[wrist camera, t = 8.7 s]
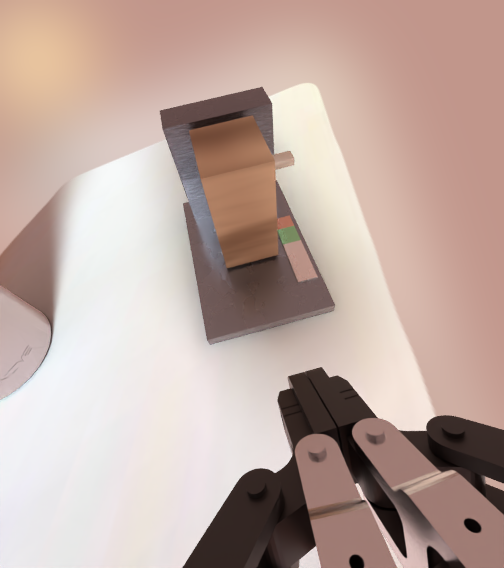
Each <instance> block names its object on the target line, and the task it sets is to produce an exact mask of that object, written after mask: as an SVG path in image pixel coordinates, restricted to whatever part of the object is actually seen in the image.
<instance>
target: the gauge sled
mask: <svg viewBox="0 0 504 568" xmlns="http://www.w3.org/2000/svg"><path fill="white" fill-rule="evenodd" d="M189 133H190V137H191V141H192V145H193V149H194V154H195V158H196V162H197V166H198V170H199V174H200V178H201V182H202V185H203V189H204V192H205V196H206V199H207V202H208V206H209V209H210V213H211V216H212V219H213V223H214V226H215V230H216V233H217V236H218V240H219V243H220V247H221V250H222V253H223V257H224V260H225V264H226V267H227V268H230V267H234V266H238V265H241V264H245V263H249V262H253V261H257V260H261V259H264V258H268V257H272V256H276V255H278V231H277V204H276V177H275V170H276V169H280V168H284V167H288V166H292V165H294V157H293V155H292V153H291V152H290V151H287V152H283V153H279V154H275V155H272V154H271V152H270V150H269V148H268V146H267V144H266V142H265V140H264V138H263V136H262V133H261V131H260V129H259V127H258V125H257V123H256V121H255V119H254V117H253V115H252V116H248V117H243V118H239V119H235V120H231V121H227V122H222V123H218V124H214V125H210V126H205V127H201V128H197V129H193V130H189Z"/></svg>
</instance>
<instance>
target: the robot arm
mask: <svg viewBox="0 0 504 568" xmlns="http://www.w3.org/2000/svg"><path fill="white" fill-rule="evenodd" d="M50 339H51V327H50V324H49V321H48V319H47V317H46V316H45V315H44V314H43V313H42V312H40V311H39V310H37V309H36V308H34V307H33V306H31V305H30V304H28V303H27V302H25V301H24V300H22V299H21V298H19V297H18V296H16V295H15V294H13V293H12V292H10V291H9V290H7V289H6V288H4V287H3V286H1V285H0V400H1V399H3V398H5V397H7V396H8V395H10V394H11V393H13V392H14V391H15V390H17V389H18V388H20V387H21V386H22V385H23V384H24V383H25V382H26V381H27V380H28V379H29V378H30V377H31V376H32V375H33V373H34V372H35V371H36V370H37V368H38V367H39V366H40V364H41V362H42V361H43V359H44V357H45V355H46V353H47V350H48V348H49V344H50ZM288 381H289V386H290V389H287V390H284V391H280V393H279V396H278V405H279V409H280V413H281V417H282V421H283V425H284V429H285V433H286V436H287V439H288V442H289V445H290V448H291V451H292V458H291V460H290V461H289V463H288V464H287V465H286V466H285V467H284V468H282V469H281V470H280V471H278V472H277V473H274V472H272V471H270V470H268V469H262V468H260V469H254V470H251V471H249V472H247V473H246V474H244V475H243V476H242V477H241V478H240V479H239V481H238V482H237V483H236V485H235V487H234V488H233V490H232V491H231V493H230V494H229V496H228V497H227V499H226V501H225V502H224V504H223V505H222V507H221V508H220V510H219V512H218V513H217V515H216V516H215V518H214V519H213V521H212V522H211V524H210V526H209V527H208V529H207V530H206V532H205V533H204V535H203V537H202V538H201V540H200V541H199V543H198V544H197V546H196V547H195V549H194V551H193V552H192V554H191V555H190V557H189V558H188V560H187V561H186V563H185V565H184V566H183V568H299V559H300V558H302V557H303V556H304V555H305V554H307V553H308V552H309V551H310V550H311V549H313V548H314V547H315V546H316V547H317V551H318V555H319V559H320V564H321V568H397V567H396V564H395V562H394V560H393V558H392V556H391V553H390V551H389V549H388V547H387V544H386V542H385V540H384V538H383V535H384V537H385V538H386V540H387V542H388V543H389V545H390V547H391V548H392V550H393V551H394V553H395V555H396V556H397V558H398V560H399V561H400V563H401V565H402V566H403V568H504V491H502V490H500V489H498V488H495V487H493V486H490V485H487V484H485V476H486V477H488V478H491V479H493V480H496V481H499V482H502V483H504V430H502V429H498V428H495V427H491V426H488V425H484V424H480V423H477V422H473V421H470V420H466V419H463V418H459V417H454V416H446V415H445V416H437V417H434V418H432V419H431V420H430V421H429V422H428V423H427V426H426V429H427V431H400V430H398V429H397V428H396V427H395V426H394V425H392V424H391V423H389V422H388V421H386V420H383V419H379V418H377V417H376V415H375V414H374V413H373V412H372V410H371V409H370V408H369V407H368V406H367V404H366V403H365V402H364V401H363V399H362V398H361V397H360V396H359V395H358V393H357V392H356V391H355V390H354V389H353V387H352V386H351V385H350V384H349V382H348V381H347V380H345V379H343V378H341V377H339V376H334V377H330V378H329V377H328V375H327V374H326V372H325V371H324V370H323V368H322V367H320V368H317V369H313V370H310V371H306V372H303V373H299V374H295V375H292V376H288ZM356 483H359V485H360V487H361V489H362V491H363V496H364V500H362V499H361V497H360V495H359V492H358V490H357V488H356V485H355V484H356ZM380 530H381V531H380ZM381 532H382V533H383V535H382V533H381Z"/></svg>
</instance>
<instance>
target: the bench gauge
mask: <svg viewBox="0 0 504 568" xmlns="http://www.w3.org/2000/svg"><path fill="white" fill-rule="evenodd" d="M160 114H161V121H162V128H163V131H164V134H165V137H166V140H167V142H168V145H169V148H170V151H171V153H172V156H173V159H174V162H175V165H176V167H177V170H178V173H179V176H180V178H181V181H182V184H183V187H184V189H185V192H186V195H187V198H188V200H189V202H187V203H183V206H184V211H185V217H186V223H187V228H188V234H189V240H190V245H191V251H192V257H193V262H194V268H195V274H196V279H197V285H198V291H199V296H200V302H201V307H202V313H203V319H204V324H205V330H206V336H207V341H208V342H209V344H210V345H211V344H214V343H218V342H222V341H225V340H229V339H232V338H236V337H240V336H243V335H247V334H251V333H254V332H258V331H262V330H265V329H269V328H272V327H276V326H280V325H283V324H287V323H291V322H294V321H298V320H302V319H305V318H309V317H313V316H316V315H320V314H323V313H327V312H331V311H334V307H335V304H334V302H333V300H332V298H331V296H330V293H329V291H328V289H327V287H326V285H325V283H324V281H323V278H322V276H321V274H320V272H319V270H318V268H317V266H316V263H315V261H314V259H313V257H312V255H311V253H310V251H309V248H308V246H307V244H306V242H305V240H304V238H303V236H302V233H301V231H300V229H299V227H298V225H297V223H296V221H295V218H294V216H293V214H292V212H291V210H290V208H289V206H288V203H287V201H286V199H285V197H284V195H283V193H282V191H281V189H280V186H279V184H278V182H277V180H276V204H277V231H278V255H276V256H272V257H268V258H264V259H261V260H257V261H253V262H249V263H245V264H241V265H238V266H234V267H230V268H227V267H226V264H225V260H224V257H223V253H222V250H221V247H220V243H219V240H218V236H217V233H216V230H215V226H214V223H213V219H212V216H211V213H210V209H209V206H208V202H207V199H206V196H205V192H204V189H203V185H202V182H201V178H200V174H199V170H198V166H197V162H196V158H195V154H194V149H193V145H192V141H191V137H190V133H189V130H193V129H197V128H201V127H205V126H210V125H214V124H218V123H222V122H227V121H231V120H235V119H239V118H243V117H248V116H252V115H253V117H254V119H255V121H256V123H257V125H258V127H259V129H260V131H261V133H262V136H263V138H264V140H265V142H266V144H267V146H268V148H269V150H270V152H271V154H272V155H274V142H273V117H272V103H271V101H270V99H269V98H268V96H267V94H266V92H265V91H264V89H263V87H260V88H256V89H251V90H247V91H243V92H238V93H234V94H230V95H225V96H221V97H217V98H213V99H208V100H204V101H200V102H196V103H191V104H187V105H183V106H178V107H174V108H170V109H165V110H161V111H160Z"/></svg>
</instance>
